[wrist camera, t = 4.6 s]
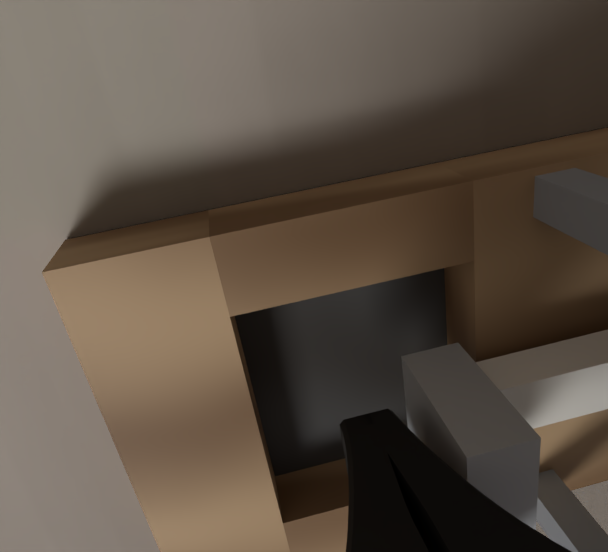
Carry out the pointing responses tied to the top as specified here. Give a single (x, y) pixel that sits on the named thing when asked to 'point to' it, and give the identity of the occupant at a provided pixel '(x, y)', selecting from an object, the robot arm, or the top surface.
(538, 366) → the sliding frame
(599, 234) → the grey tunnel
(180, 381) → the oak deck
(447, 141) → the top surface
